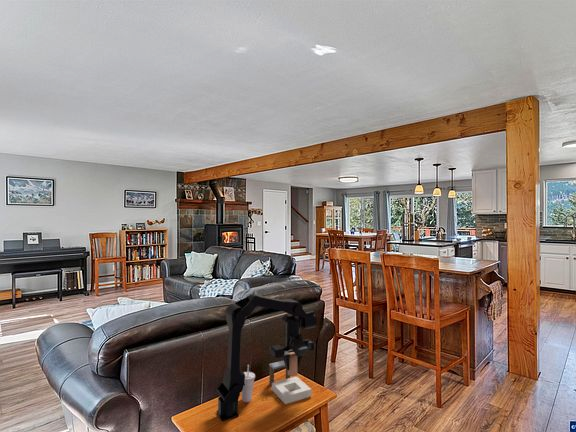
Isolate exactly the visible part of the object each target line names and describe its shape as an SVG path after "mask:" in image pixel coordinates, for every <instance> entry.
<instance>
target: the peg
mask: <svg viewBox="0 0 576 432" xmlns="http://www.w3.org/2000/svg"><path fill="white" fill-rule="evenodd" d="M288 354H289V355H290V358H289V370H288V375H289V376H290V377H296V376H297V375H298V368H297V360H298V356H296V355H295V353H294V351H292V352H290V351H289V352H288Z"/></svg>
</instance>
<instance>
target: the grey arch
mask: <svg viewBox="0 0 576 432" xmlns="http://www.w3.org/2000/svg"><path fill="white" fill-rule="evenodd" d="M268 366H269V379H268V380H269V385H270V386H272V383H273V382H275V370H276V369H280V368H285V379H288V378H291V376H289V375H288V370H287V368H286V366H285V363H284V361H283V360H280V361H276V362H272V363H269V364H268Z"/></svg>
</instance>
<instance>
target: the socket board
mask: <svg viewBox="0 0 576 432" xmlns="http://www.w3.org/2000/svg"><path fill="white" fill-rule="evenodd" d="M271 391H272V392H273V393H274V394H275V395H276V396H277V397H278V398H279V399H280V400H281V402H282V403H283V404H285V405H288V404H292V403H295V402H297V401H301V400H303V399H307V398H310V397H312V388H311V387H310V386H309V385H307V383H305V382H304V381H302V380H301V378H299V377H298V376H297V375H296V376H291V377H290V378H288V379H286V378H285V379H281V380H278V381H277V380H276V381H274V382H273V383H272V385H271Z"/></svg>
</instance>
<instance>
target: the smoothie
mask: <svg viewBox="0 0 576 432" xmlns="http://www.w3.org/2000/svg"><path fill="white" fill-rule="evenodd" d="M242 372H243V373H244V374H245V380H244V383H245V386H244V385H243V390H242V392H241V393H240V394H241V399H242V402H244V403H249V402H251V401H252V399H253V391H254V384H255V379H256V374H255V373H254V372H252V371H250V364H247V371H242Z"/></svg>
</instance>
